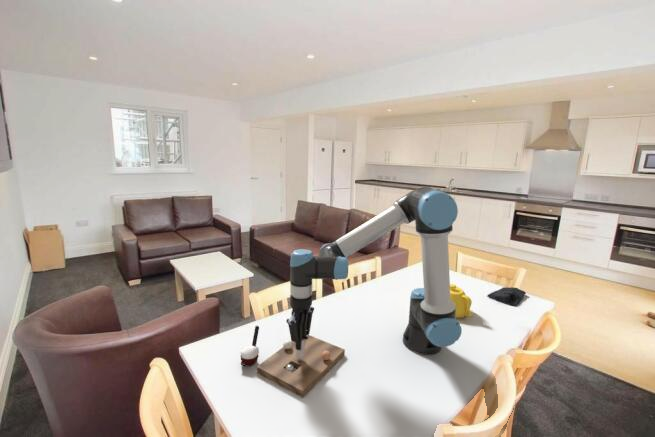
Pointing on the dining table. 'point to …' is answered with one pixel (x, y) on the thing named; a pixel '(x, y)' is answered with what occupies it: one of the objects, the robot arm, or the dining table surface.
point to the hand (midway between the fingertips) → (300, 355)
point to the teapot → (460, 301)
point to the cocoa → (250, 351)
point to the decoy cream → (287, 344)
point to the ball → (290, 368)
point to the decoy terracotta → (326, 355)
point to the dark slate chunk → (508, 295)
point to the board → (300, 365)
